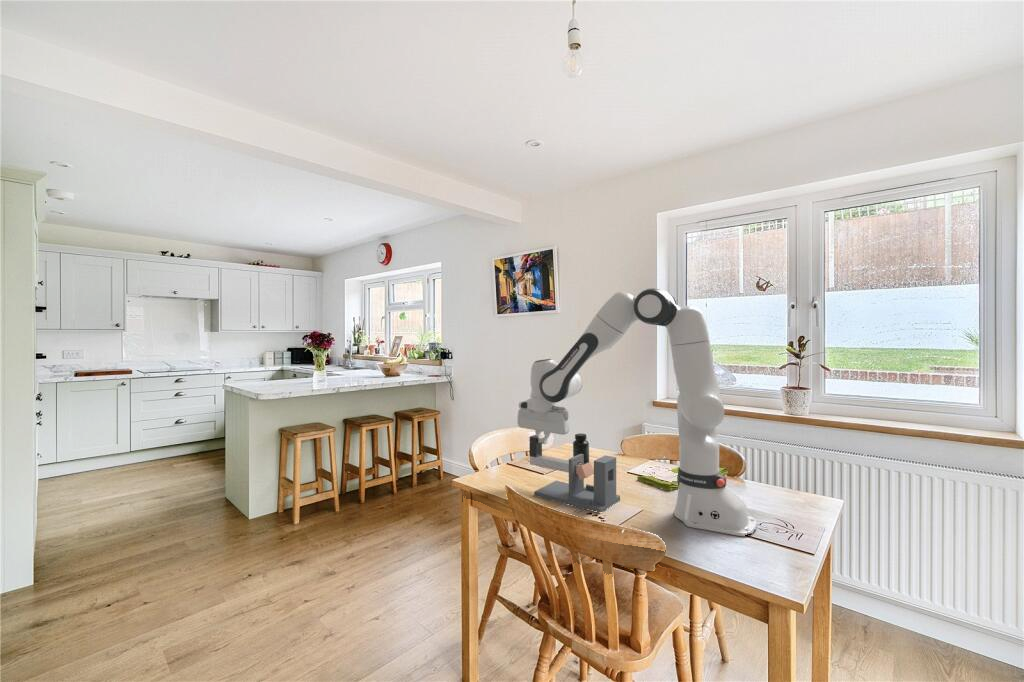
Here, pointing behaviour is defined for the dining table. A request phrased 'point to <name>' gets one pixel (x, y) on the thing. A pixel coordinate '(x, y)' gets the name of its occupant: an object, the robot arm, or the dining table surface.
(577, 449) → the supplement bottle
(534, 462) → the shaft
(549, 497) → the bracket
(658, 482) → the dish towel
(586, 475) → the block
